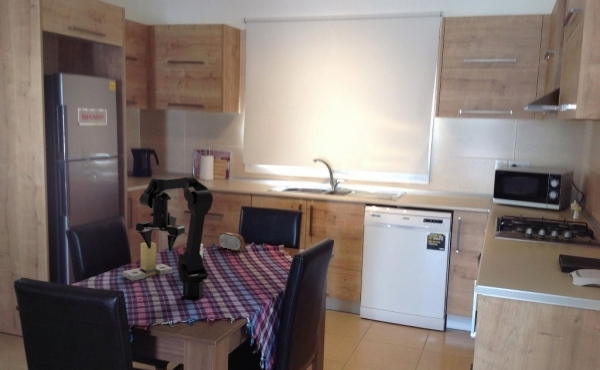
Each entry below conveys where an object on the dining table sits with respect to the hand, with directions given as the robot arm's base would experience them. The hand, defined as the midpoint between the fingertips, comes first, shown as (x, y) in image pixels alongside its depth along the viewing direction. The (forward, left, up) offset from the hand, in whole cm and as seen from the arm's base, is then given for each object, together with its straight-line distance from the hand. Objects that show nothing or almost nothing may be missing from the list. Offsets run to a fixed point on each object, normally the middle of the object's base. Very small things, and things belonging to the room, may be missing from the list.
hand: (159, 249), depth 205 cm
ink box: (-6, -17, -13) cm, 22 cm away
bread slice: (-2, -59, -13) cm, 61 cm away
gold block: (+10, -7, -13) cm, 18 cm away
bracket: (+10, -7, -13) cm, 18 cm away
